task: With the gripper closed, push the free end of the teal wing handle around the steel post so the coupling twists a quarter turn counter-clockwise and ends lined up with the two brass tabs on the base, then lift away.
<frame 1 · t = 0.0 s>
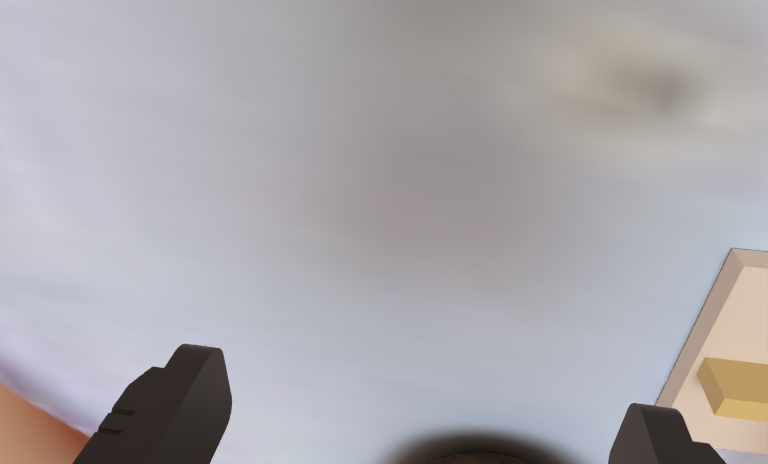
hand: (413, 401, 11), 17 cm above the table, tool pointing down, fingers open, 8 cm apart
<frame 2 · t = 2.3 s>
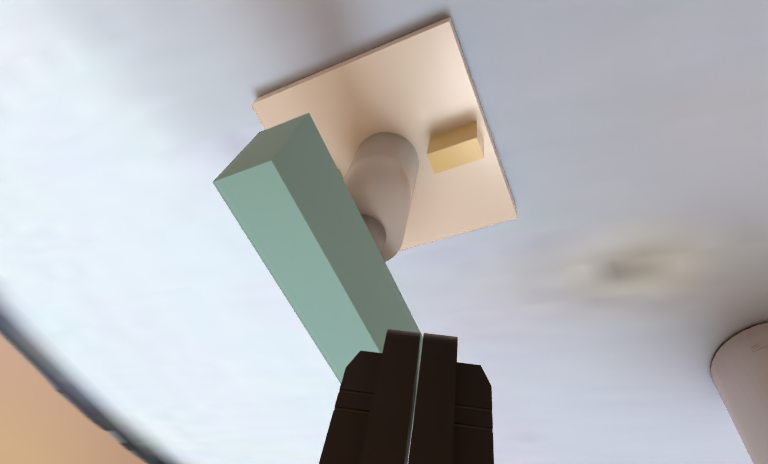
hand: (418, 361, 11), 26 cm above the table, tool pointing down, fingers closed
coupling: (349, 273, 25), point 14 cm above the table, hinge at 0.0°
post base: (390, 153, 37), on the table
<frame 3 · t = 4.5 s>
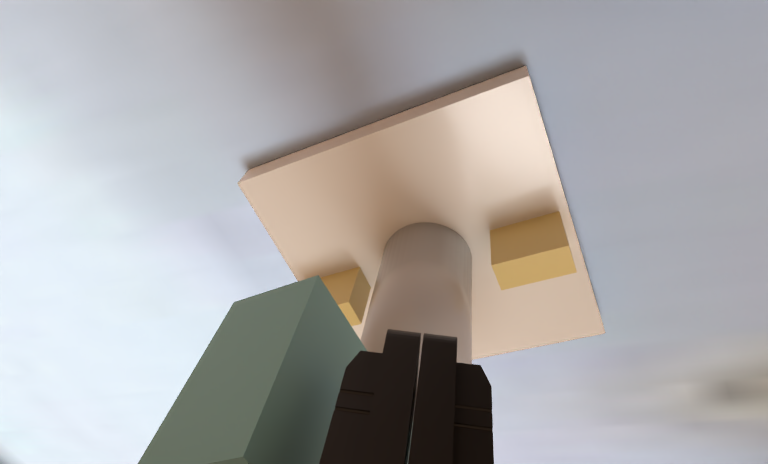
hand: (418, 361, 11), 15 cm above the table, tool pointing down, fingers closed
post base: (429, 243, 27), on the table
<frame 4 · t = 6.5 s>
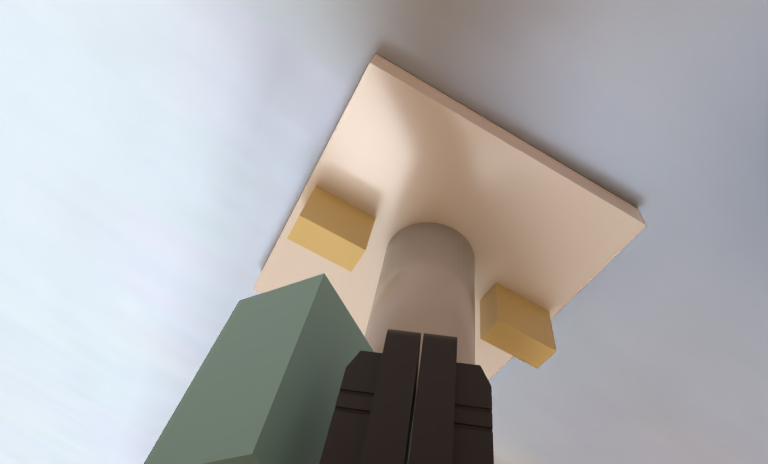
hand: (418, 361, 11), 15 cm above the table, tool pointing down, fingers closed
post base: (431, 243, 27), on the table
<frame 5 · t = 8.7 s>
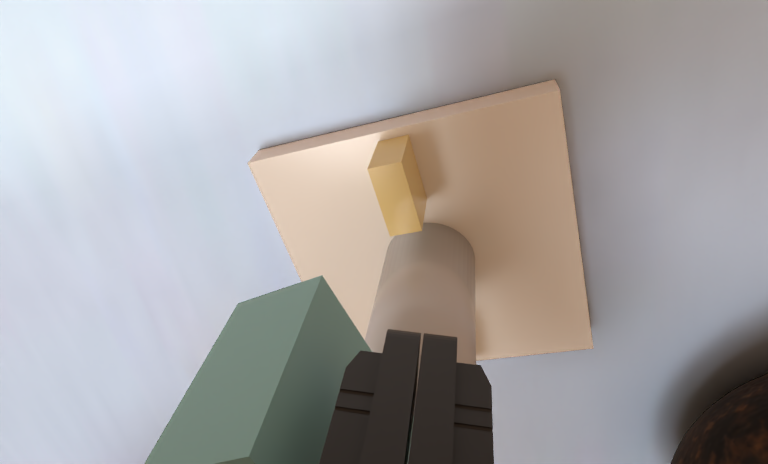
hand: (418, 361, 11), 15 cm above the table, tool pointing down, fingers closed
post base: (432, 244, 27), on the table
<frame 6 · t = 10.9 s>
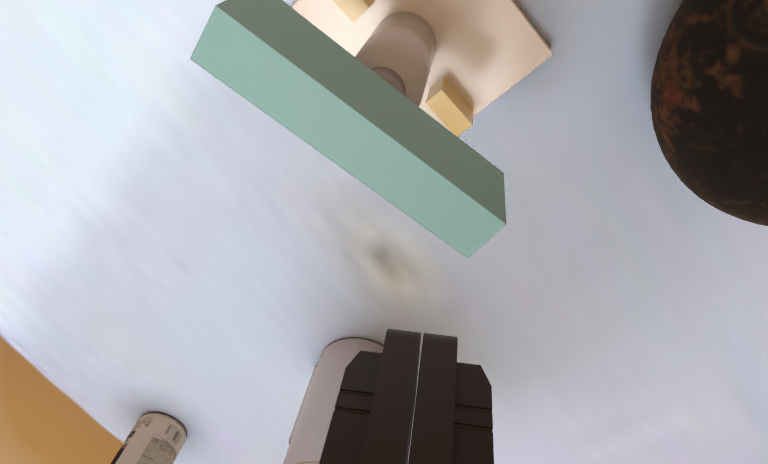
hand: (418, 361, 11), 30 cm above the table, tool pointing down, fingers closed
coupling: (369, 115, 26), point 14 cm above the table, hinge at 100.0°
post base: (406, 40, 37), on the table
spray can: (165, 425, 70), on the table
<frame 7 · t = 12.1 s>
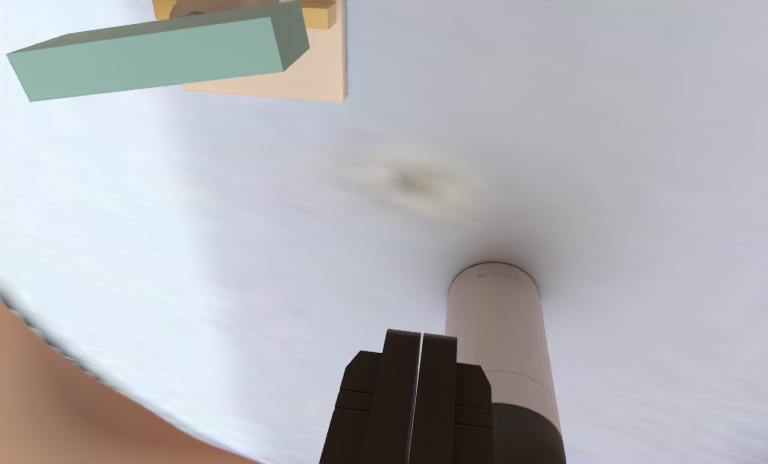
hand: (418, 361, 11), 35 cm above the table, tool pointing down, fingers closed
coupling: (173, 46, 30), point 14 cm above the table, hinge at 100.0°
post base: (259, 4, 42), on the table
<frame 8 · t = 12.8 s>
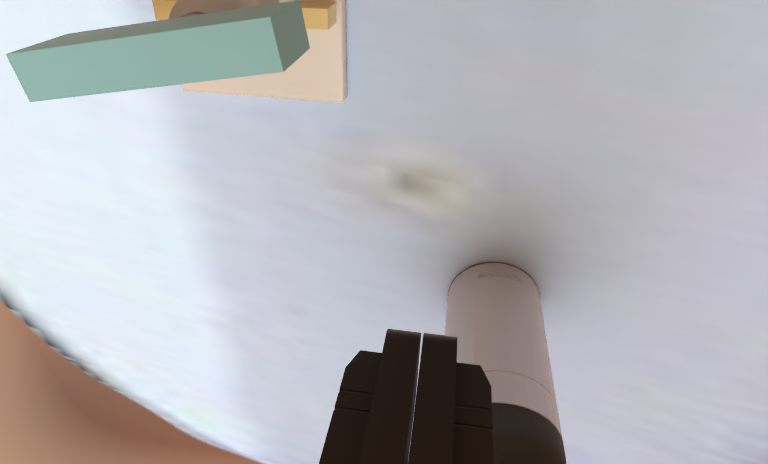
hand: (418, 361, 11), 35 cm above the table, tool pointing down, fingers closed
coupling: (173, 46, 30), point 14 cm above the table, hinge at 100.0°
post base: (259, 4, 42), on the table
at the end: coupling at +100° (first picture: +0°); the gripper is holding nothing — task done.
